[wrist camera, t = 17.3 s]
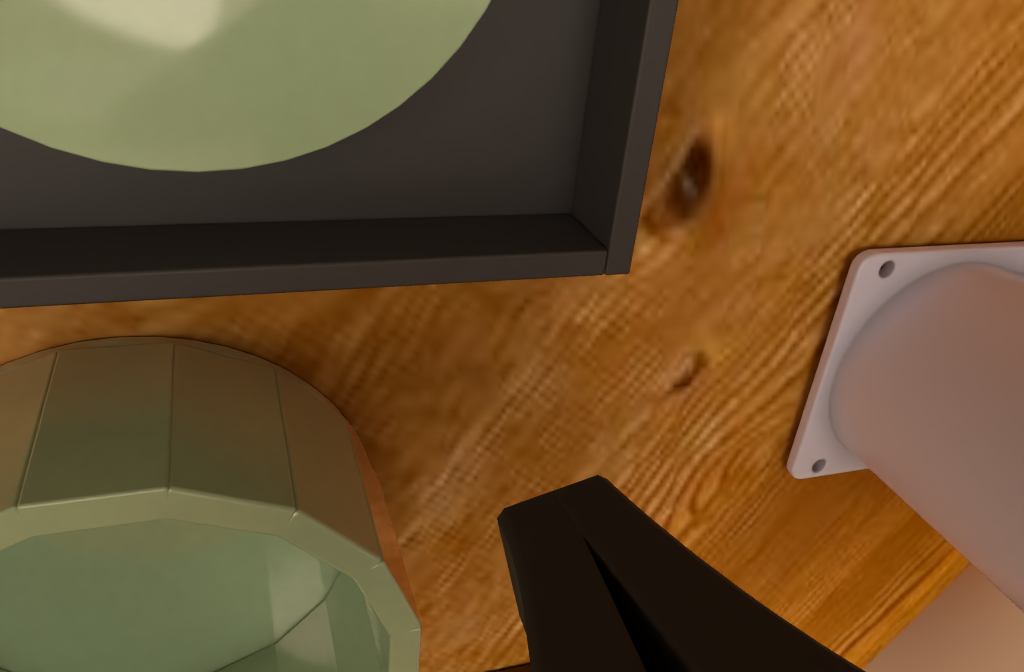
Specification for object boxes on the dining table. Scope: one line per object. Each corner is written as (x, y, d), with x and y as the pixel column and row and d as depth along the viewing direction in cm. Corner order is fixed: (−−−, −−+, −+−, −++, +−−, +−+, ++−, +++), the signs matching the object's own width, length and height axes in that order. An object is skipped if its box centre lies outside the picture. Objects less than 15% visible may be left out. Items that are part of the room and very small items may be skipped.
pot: (380, 318, 20) (433, 455, 15) (373, 647, 25) (410, 816, 21) (-203, 357, 16) (-351, 551, 12) (-62, 731, 22) (-128, 958, 17)
